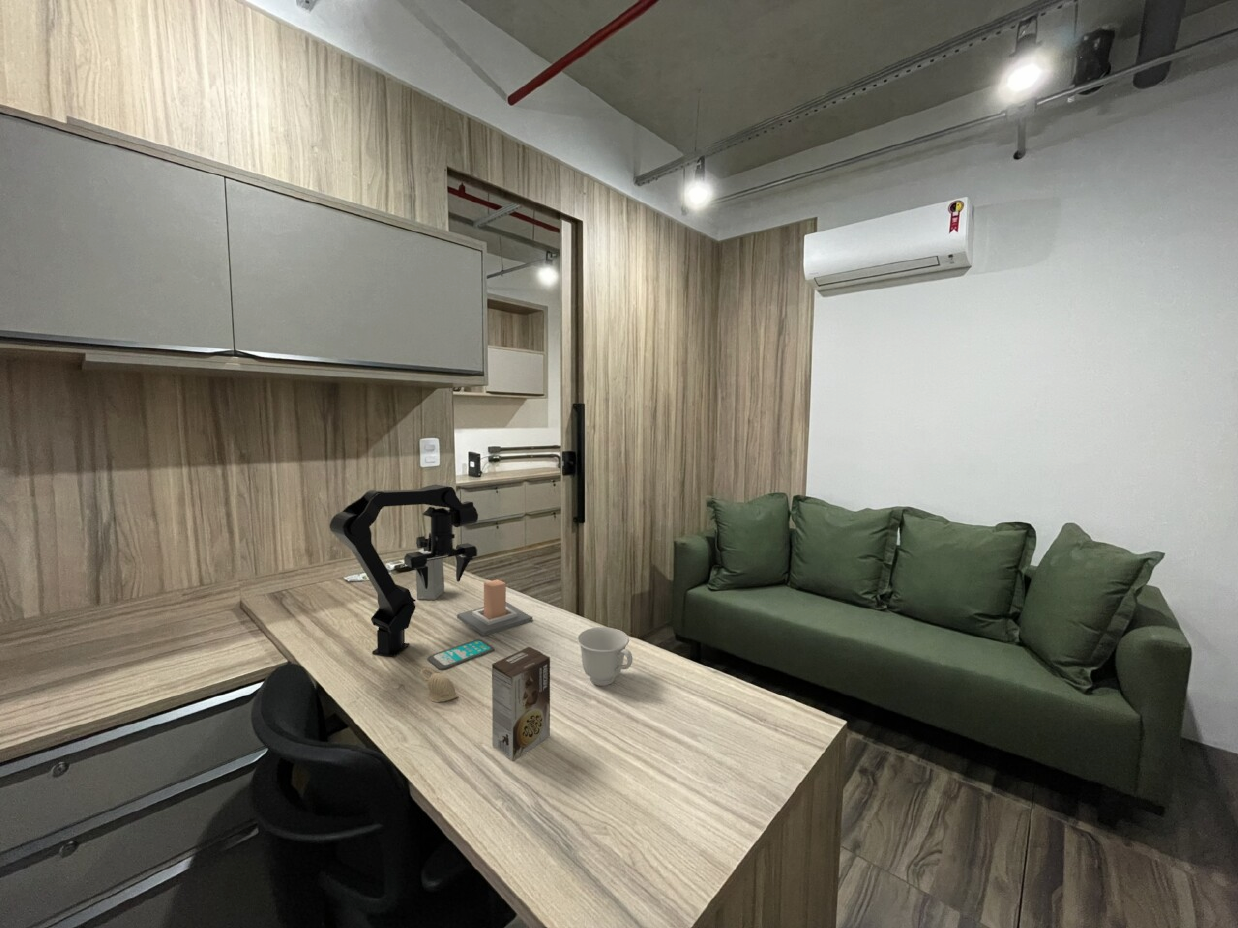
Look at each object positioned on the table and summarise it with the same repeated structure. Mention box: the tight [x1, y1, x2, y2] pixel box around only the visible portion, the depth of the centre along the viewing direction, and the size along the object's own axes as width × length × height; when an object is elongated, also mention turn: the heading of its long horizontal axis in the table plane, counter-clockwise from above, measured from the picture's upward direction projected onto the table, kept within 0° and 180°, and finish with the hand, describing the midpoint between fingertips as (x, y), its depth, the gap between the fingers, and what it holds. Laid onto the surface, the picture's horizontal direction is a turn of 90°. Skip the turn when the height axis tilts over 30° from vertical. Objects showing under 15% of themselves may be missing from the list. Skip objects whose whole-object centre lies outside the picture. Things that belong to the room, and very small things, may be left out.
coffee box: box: [491, 646, 551, 762], centre depth 90 cm, size 9×6×16 cm
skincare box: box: [415, 548, 445, 601], centre depth 161 cm, size 8×7×16 cm
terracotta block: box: [483, 579, 507, 619], centre depth 144 cm, size 5×5×10 cm
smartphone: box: [426, 638, 495, 671], centre depth 123 cm, size 9×1×15 cm
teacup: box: [577, 626, 634, 686], centre depth 112 cm, size 12×15×10 cm
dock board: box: [456, 601, 533, 637], centre depth 144 cm, size 16×16×2 cm
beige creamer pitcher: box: [420, 667, 459, 703], centre depth 105 cm, size 4×8×5 cm, turn 60°
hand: (442, 584), depth 135 cm, fingers open, 9 cm apart
